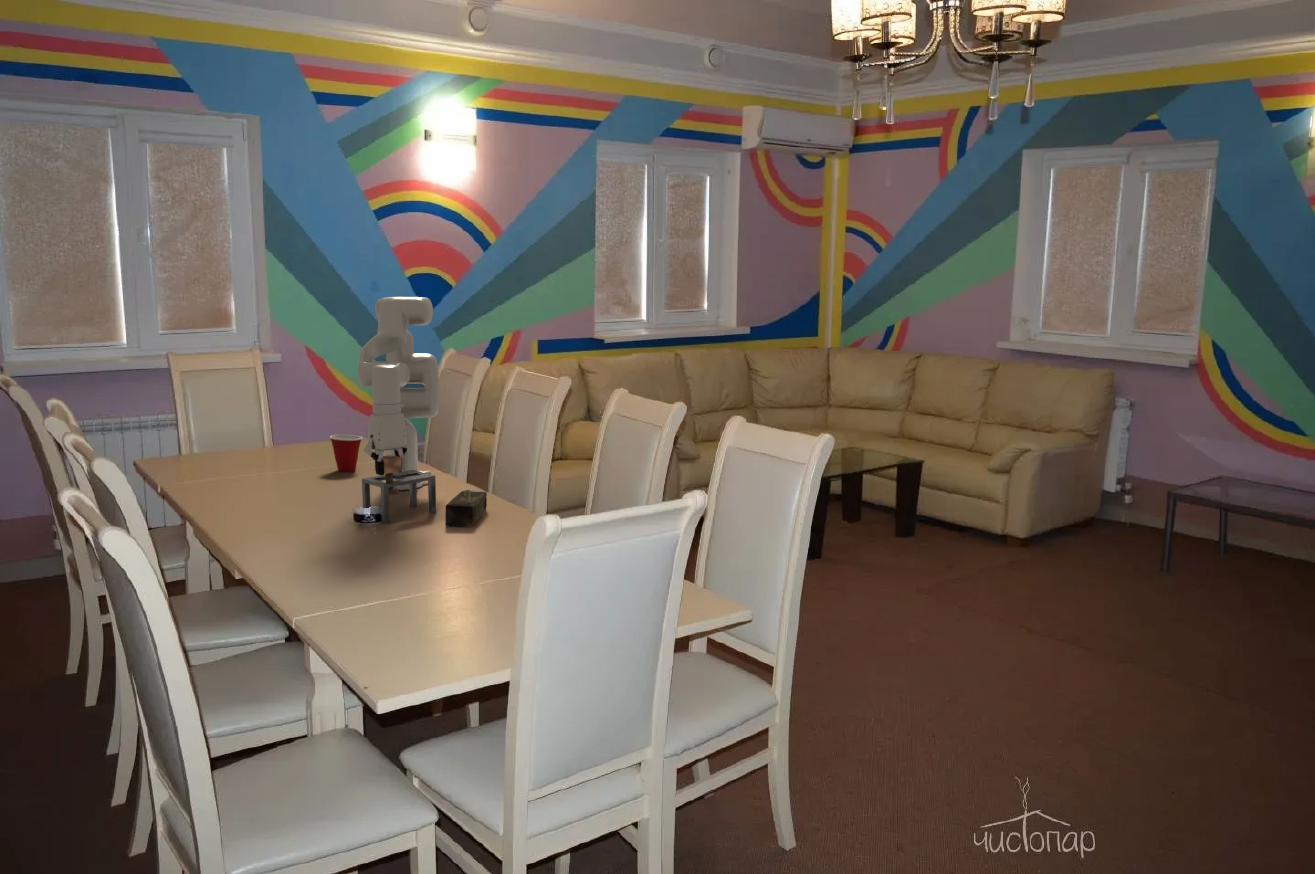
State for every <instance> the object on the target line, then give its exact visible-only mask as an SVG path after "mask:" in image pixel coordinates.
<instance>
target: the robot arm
mask: <svg viewBox="0 0 1315 874" xmlns="http://www.w3.org/2000/svg"><path fill="white" fill-rule="evenodd" d="M374 307H375V309H374V310H375V315H376V317H377V321H378V323H377V332H376V333H377V334H376V335H374V336H373V337H372V338H370V340H368V341H367V342H366V343H365V344H364V346H362V348H361V350H360V352H359V355H358V361H357V369H356V371H357V373H356V374H357V375H356V377H357V382H358V383H359V385H360V386H361V387H363V388H367V389H371V391H372V393H371V395H372V396H371V397H372V414H369V419H368V427H367V444H366V445H365V446H364V449H363V452H364V453H366V454H367V455H368V456H369V457H370V458H371V459H372V460H373V461H374V469H375V470H374V471H375V474H376V475H377V476H380V475H385V473H384V462H383V461H382V457H383V456H384V453H385V451H386V456H387V455H394V456H398V457H401V467H402V471H400V472H403V471H409V470H416V471H420V472H423V473H427V474H431V475H432V471H430V470H425V471H422V470H419V465H418V464H419V463H418V460H419V459H418V457H419V455H418V432H417V429H416V428H415V426H414V424H413V423H412V422H411V421H410V420H409V419H413V418H414V419H421V418H422V419H426V418H427V419H428V418H434V417H436V416H438V414H439V411H440V410H439V409H440V387H439V386H440V385H439V384H440V383H439V365H438V361H437V358H436V356H434V355H433V354H431V353H415V346H414V344H415V343H414V342H415V341H414V340H415V339H414V336H413V335H412V333H411V332H410V330H409V329H408V326H427V325H430V324H431V322H432V319H433V315H434V308H433V307H434V306H433V304H432V301H431V299H430V298H428V297H424V296H423V297H422V296H421V297H419V296H388V297H382V298H379V299H377V301H376V302H375V306H374ZM384 355H385V357H386V361H385V360H383V361H381V360H379V361H378V360H377V361H374V360H375V359H377V358H379V357H382V356H384ZM407 384H408V385H410V384H415V385H416V384H419V385H423V386H424V387H405V386H407ZM373 450H374V451H373ZM394 473H397V472H394ZM397 480H402V479H397ZM397 480H396V479H393V481H397ZM384 482H386V480H384ZM416 484H417V489H418V488H422V487H423V486H424V481H422V482H416ZM394 487H398V491H403V490H404V491H405V490H407V491H408V490H409V484H405V485H400V486H394Z"/></svg>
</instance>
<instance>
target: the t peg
mask: <svg viewBox="0 0 1315 874" xmlns="http://www.w3.org/2000/svg"><path fill="white" fill-rule="evenodd" d="M382 461H383V462H384V475H385V479H386V480H385V481H386V482H391V481H393V473H394V472H400V471H402V467H401V457H398V456H394V455H387V454H386V455H383V457H382ZM396 494H397V495H398V494H399V490H398V487H389V496H392V495H396Z"/></svg>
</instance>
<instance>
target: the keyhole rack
mask: <svg viewBox="0 0 1315 874" xmlns="http://www.w3.org/2000/svg"><path fill="white" fill-rule="evenodd" d="M420 471H421V470H419V471H416V470H409V471H403V472H397V473H393V479H396V480H397V479H402V480H397V481H391V482H385V481H386V479H385V474H384V475H375V476H370V477H369V476H368V477H363V478H361V489H362V490H361V491H362V493H361V495H362V509H363V508H369V507H371V491H370V490H371V486H375V487H378V488H380V501H381V502H380V503H381V505H380V506H381V508H380V509H381V523H382V524H390V523H391V522H390V495H389V487H394V486H400V485H405V484H409V489H408V490H409V492H408V493H409V508H412V509H413V508H414V509H415V508H417V507H418V491H417V490H418V488H417V484H416V482H422V481H423V482H427V487H428V488H427V490H428V491H427V492H428V494H427V495H428V513H429V514H432V515H433V514H436V513H437V494H436V493H437V491H436V489H437V487H436V485H437V484H436V483H437V481H436V475H435V474H432V473H431V474H427V473H423V472H424V471H422V472H420Z"/></svg>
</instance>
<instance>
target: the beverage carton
mask: <svg viewBox="0 0 1315 874" xmlns="http://www.w3.org/2000/svg"><path fill="white" fill-rule="evenodd" d="M487 495H488V494H487V491H474V490H470V489H465V490H462V491H461V492H459V493H458V494H457V495H455V497H453V498H452V499H451V500H450V501H449V502H448V503H447V504H446V505H445V509H444V510H445V511H444V512H445V526H446V527H457V528H459V527H461V528H472V527H473V526H474V525H475V524H476V523H477V522H478V521H479V520H480V519H481V517H482V516H483V515H484V513H485V512H486V511H487V507H488V504H487V501H488V499H487Z"/></svg>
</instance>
